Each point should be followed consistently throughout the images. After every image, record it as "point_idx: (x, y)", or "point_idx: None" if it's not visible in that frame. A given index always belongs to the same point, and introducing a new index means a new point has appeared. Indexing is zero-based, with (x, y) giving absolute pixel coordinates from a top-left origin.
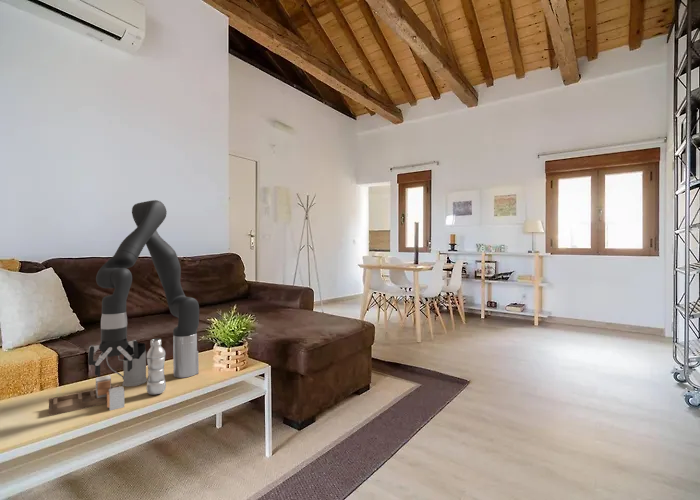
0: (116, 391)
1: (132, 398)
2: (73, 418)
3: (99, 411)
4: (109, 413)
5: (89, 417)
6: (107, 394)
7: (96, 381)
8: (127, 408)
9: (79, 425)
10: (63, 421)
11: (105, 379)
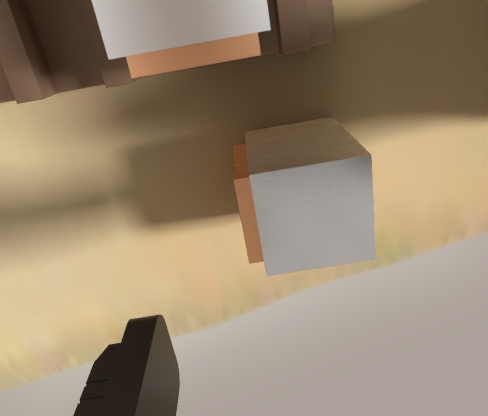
0: (316, 267)
1: (401, 52)
2: (73, 229)
3: (200, 194)
4: None
5: (160, 256)
6: (249, 260)
7: (103, 32)
8: None
9: None
10: (31, 246)
11: (206, 36)
